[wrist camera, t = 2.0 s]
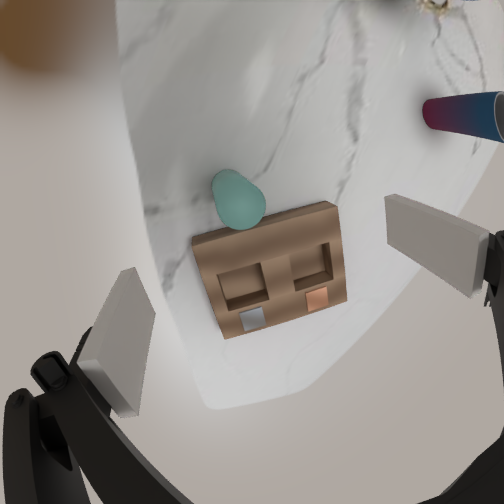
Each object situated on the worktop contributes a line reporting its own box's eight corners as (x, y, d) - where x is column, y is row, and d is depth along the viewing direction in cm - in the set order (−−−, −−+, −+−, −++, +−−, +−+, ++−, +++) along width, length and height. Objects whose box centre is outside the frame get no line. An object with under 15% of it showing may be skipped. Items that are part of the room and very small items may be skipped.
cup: (445, 138, 37) (516, 149, 23) (417, 129, 35) (493, 135, 22) (446, 101, 34) (516, 102, 21) (419, 88, 33) (493, 83, 19)
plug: (207, 174, 34) (211, 189, 23) (240, 165, 34) (259, 176, 23) (216, 205, 35) (224, 235, 24) (247, 197, 35) (270, 222, 24)
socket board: (192, 237, 36) (191, 247, 32) (325, 200, 37) (338, 206, 34) (222, 325, 41) (224, 341, 38) (337, 289, 43) (348, 302, 39)
